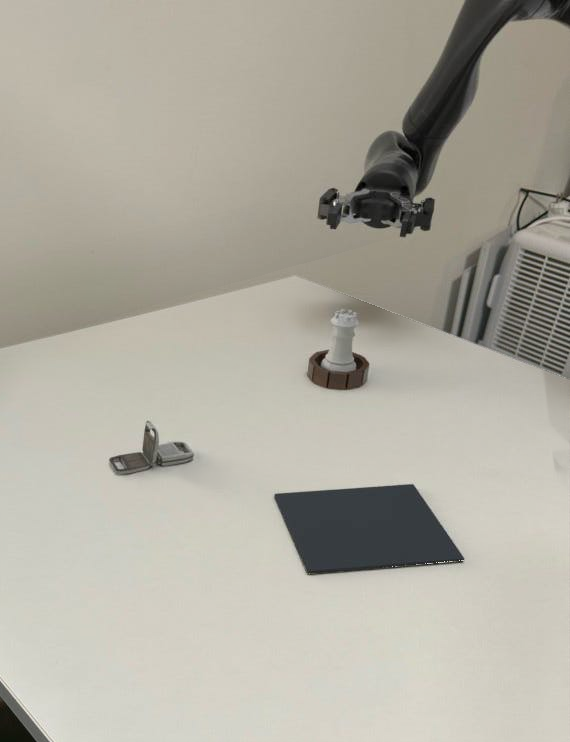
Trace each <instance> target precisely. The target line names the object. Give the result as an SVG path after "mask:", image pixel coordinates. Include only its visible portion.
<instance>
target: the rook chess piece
mask: <svg viewBox="0 0 570 742" xmlns="http://www.w3.org/2000/svg"><path fill="white" fill-rule="evenodd" d="M345 312H346V311H345V309H340V310H336V311H335V312H334V315H333V317H332V318H331V319H330V323H331V324H332V326H333V330H331V332H330V334H331V336H332V338H331V342H330V346H329V349H328V350H329V352H328V354H327V355H326V357H325V359H323V360H322V362H321V367H323V368H325V369H328V370H330V371H339V372H350V371H354V370H356V363H355V362H354V357H353V355H352V352H353V339H354V337H355V335H356V332H355V328H357V326H358V325H359V324H360V321H359V319H358V318H357V315H358V313H357V312H353V310H350V309H348V310H347V313H345Z"/></svg>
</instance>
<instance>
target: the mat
mask: <svg viewBox="0 0 570 742" xmlns="http://www.w3.org/2000/svg"><path fill="white" fill-rule="evenodd" d="M273 497H274V500H275V502H276V504H277V507H278V509H279V511H280V514H281V516H282V518H283V520H284V522H285V525H286V528H287V531H288V532H289V535H290V537H291V536H292V537H291V539H292V541H293V544H294V543H295V544H294V546H295V548H296V550H298V551H297V553H298V555H299V557H300V560H301V559H302V560H301V562H302V565H303V567H304V566H305V567H304V569H305V568H306V569H305V571H306V570H307V571H306V574H307V573H310V574H309V575H312V574H311V573H320V574H324V573H323V572H326V573H325V574H328V573H327V572H332V573H339V572H338V571H344V572H354V571H355V570H357V571H366V569H367V570H368V569H369V570H379V569H378V568H381V569H386V568H385V567H392V566H393V567H394V568H396V567H395V566H405V565H406V567H408V566H407V565H416V564H425V563H426V564H427V563H436V562H437V563H438V562H444V561H445V562H447V561H448V562H449V561H459V560H460V561H461V560H464V561H465V557H464V556H463V554H462V552H461V551H460V550H459V548H458V547H457V546H456V544H455V542H454V541H453V539H452V538H451V537H450V536H449V534H448V532H447V531H446V529H445V528H444V526H443V525H442V523H441V522H440V521H439V519H438V517H437V516H436V515H435V513H434V512H433V511H432V509H431V508H430V506H429V505H428V503H427V502H426V501H425V499H424V497H423V496H422V494H421V493H420V492H419V490H418V489H417V487H416V485H415V484H414V483H409V484H408V483H407V484H394V485H379V486H377V485H376V486H365V487H363V486H362V487H350V488H338V489H321V490H308V491H293V492H278V493H274V496H273ZM383 567H384V568H383ZM375 568H377V569H375ZM362 569H363V570H362ZM352 570H353V571H352ZM355 572H356V571H355Z"/></svg>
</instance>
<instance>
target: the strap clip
mask: <svg viewBox="0 0 570 742" xmlns="http://www.w3.org/2000/svg"><path fill="white" fill-rule="evenodd" d="M151 431H152V432H153V434H154V435H153V434H151ZM143 432H144V433H143V439H142V440H143V441H142V448H141V449H142V452H141V451H138V452H131V453H124V454H117V455H115V456H114V455H113V456H111V457H109V459H108V461H109V464H110V465H111V467H112V468H113V470H114V472H115V473H116V474H133V473H136V472H142V471H145V470H148V469H150V467H152V465H154V463H157V464H158V465H161V466H162V467H166V466H172V465H177V464H178V465H179V464H184V463H186V462H189V461H191V460H193V458H194V456H195V455H194V451H193V450H192V448H190V447H189V445H188V444H187V442H185V441H170V442H165V443H160V436H159V431H158V429H157V427H156V426H155V425H154V424H153V423H152V421H151V420H147V421H145V426H144V431H143ZM180 450H183V451H184V452H181V451H180ZM115 462H122V464H123V466H124V467H125V468H118V466H117V465H116V463H115Z"/></svg>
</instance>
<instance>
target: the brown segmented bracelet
mask: <svg viewBox="0 0 570 742" xmlns="http://www.w3.org/2000/svg"><path fill="white" fill-rule="evenodd" d="M328 352H329V349H325V350H320V351H316V352H314V353H313V354H311V356H310V357H309V358H308V364H307V376H308V378H309V379H310V381H311V382H312V383H313V384H316V385H317V386H321V387H323V388H327V389H332V390H344V391H345V390H351V389H355V388H360V387H361V386H363V385H364V384H365V382H366V381H367V380H368V376H369V371H370V362H369V361H368V360H367V358H366V357H365V356H364V355H361V354H359V353H357V352H353V351H352V355H353V357H354V362H355V363H356V370H354V371H350V372H339V371H330V370H328V369H325V368H323V367H321V362H322V360H323V359H325V357H326V355H327V354H328Z"/></svg>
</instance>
